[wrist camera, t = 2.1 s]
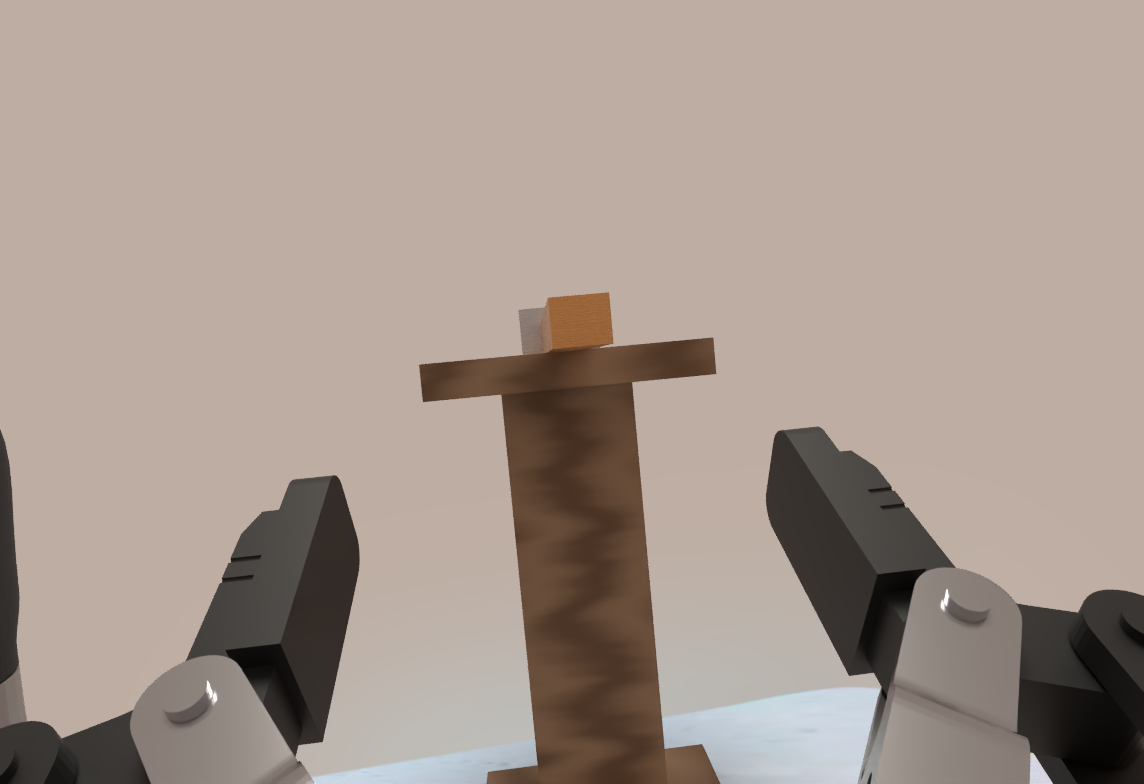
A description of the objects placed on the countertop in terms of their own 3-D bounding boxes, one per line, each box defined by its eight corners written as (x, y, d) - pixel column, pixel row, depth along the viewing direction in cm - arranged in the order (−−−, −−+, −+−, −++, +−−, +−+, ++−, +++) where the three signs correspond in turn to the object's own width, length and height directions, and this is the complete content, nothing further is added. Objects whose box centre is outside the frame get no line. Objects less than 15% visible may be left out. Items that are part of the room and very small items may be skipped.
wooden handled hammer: (519, 352, 26) (512, 275, 26) (523, 357, 48) (519, 315, 48) (646, 340, 26) (639, 264, 26) (592, 350, 48) (588, 309, 48)
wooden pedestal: (478, 937, 37) (419, 364, 36) (490, 798, 49) (446, 364, 48) (759, 896, 38) (713, 337, 37) (704, 770, 50) (667, 344, 49)
